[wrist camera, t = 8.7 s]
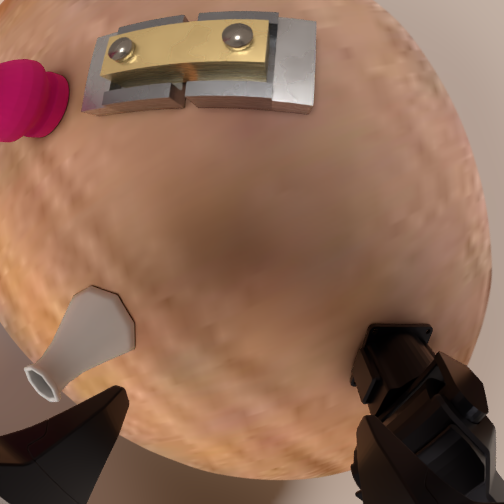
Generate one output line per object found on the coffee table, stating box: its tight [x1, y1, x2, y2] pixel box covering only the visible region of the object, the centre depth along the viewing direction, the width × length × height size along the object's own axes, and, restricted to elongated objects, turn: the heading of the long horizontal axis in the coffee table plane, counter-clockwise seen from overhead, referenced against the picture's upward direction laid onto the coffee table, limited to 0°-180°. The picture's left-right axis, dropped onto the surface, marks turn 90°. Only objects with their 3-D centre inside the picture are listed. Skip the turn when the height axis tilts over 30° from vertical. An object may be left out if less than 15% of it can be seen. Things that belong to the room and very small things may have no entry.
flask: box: [24, 286, 135, 402], centre depth 17 cm, size 7×7×10 cm
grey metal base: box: [81, 11, 316, 116], centre depth 14 cm, size 16×6×3 cm, turn 85°
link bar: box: [100, 19, 270, 88], centre depth 13 cm, size 10×3×4 cm, turn 85°
